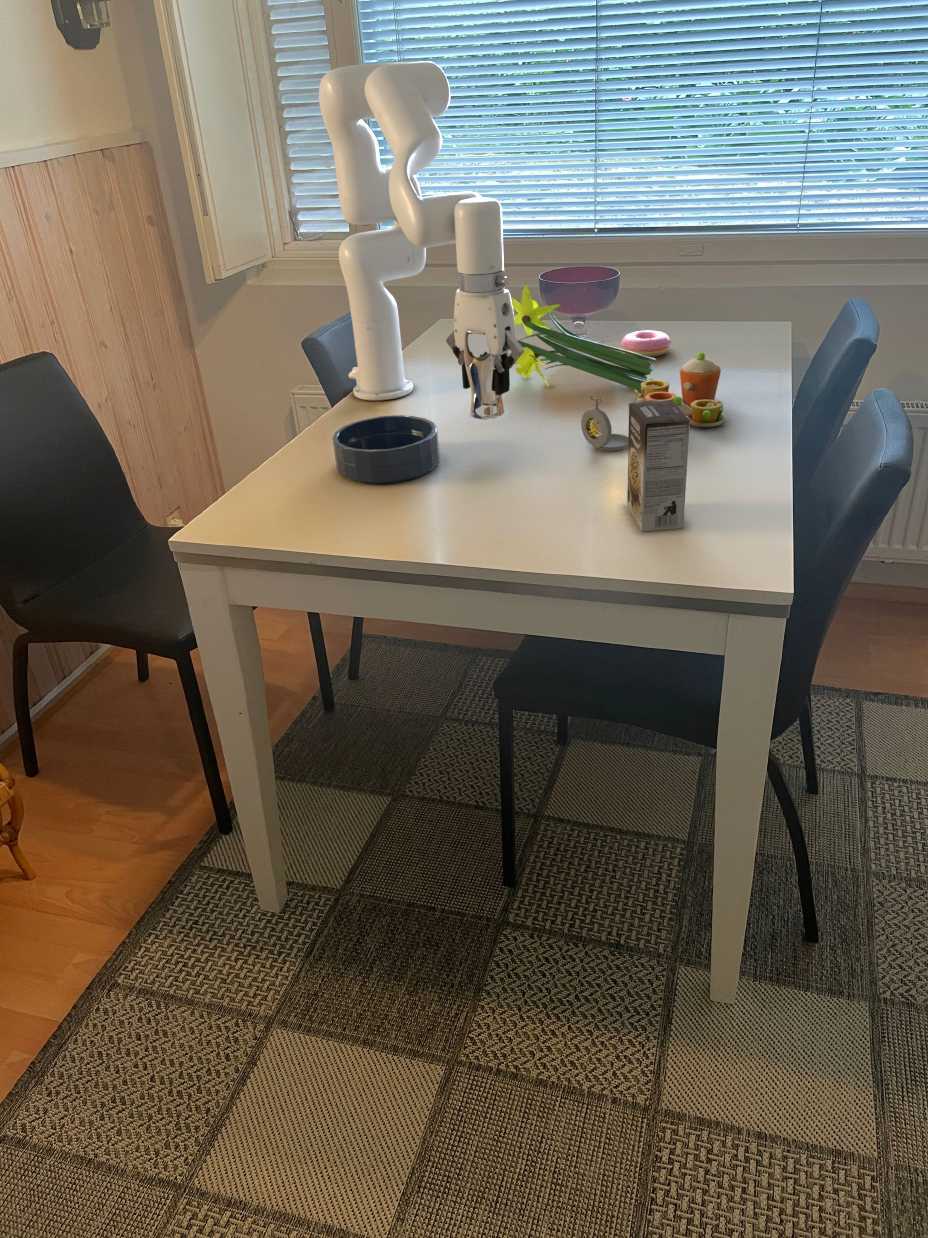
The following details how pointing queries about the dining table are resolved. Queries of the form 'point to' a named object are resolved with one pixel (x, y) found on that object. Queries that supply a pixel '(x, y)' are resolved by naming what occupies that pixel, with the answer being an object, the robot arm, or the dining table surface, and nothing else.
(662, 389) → the toy tea set
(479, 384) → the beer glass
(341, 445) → the bowl
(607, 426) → the pocket watch
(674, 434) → the coffee box
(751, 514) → the dining table surface
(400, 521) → the dining table surface
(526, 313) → the daffodil flowers
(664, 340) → the doughnut
